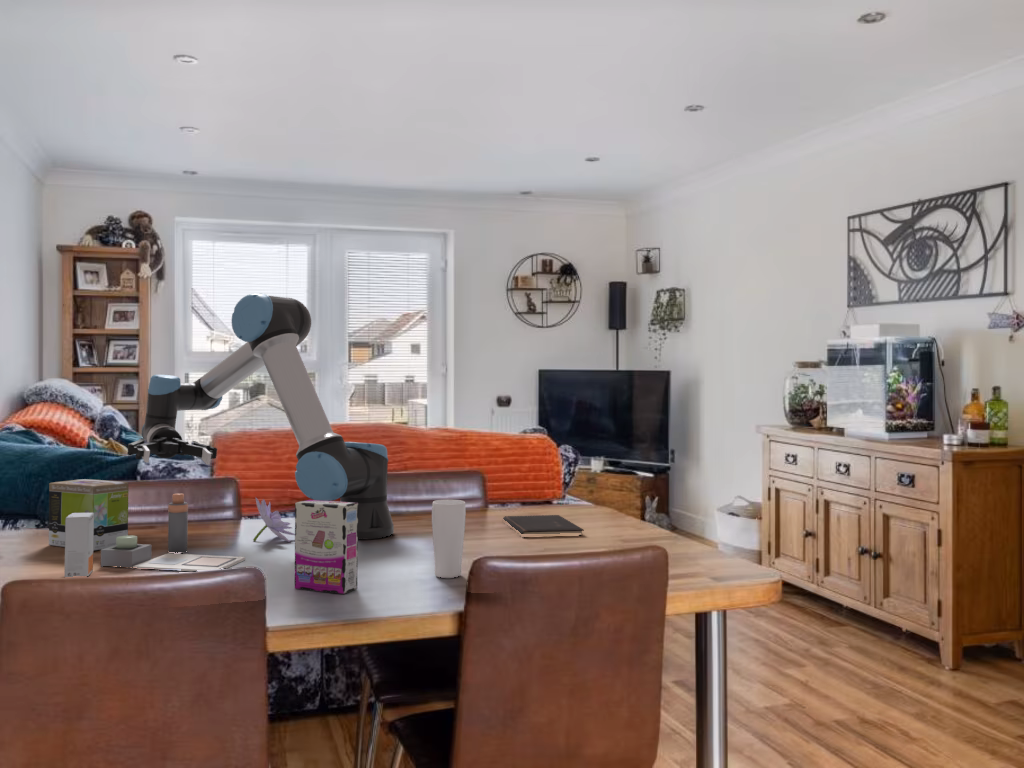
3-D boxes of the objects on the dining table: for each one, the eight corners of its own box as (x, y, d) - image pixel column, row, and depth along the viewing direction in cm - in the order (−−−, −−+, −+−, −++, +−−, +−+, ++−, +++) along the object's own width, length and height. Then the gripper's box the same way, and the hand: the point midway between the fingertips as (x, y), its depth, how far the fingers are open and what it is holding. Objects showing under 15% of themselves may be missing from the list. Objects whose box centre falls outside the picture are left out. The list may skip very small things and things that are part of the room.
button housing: (151, 561, 183) (151, 544, 183) (132, 568, 176) (132, 551, 176) (121, 559, 184) (121, 543, 184) (100, 566, 177) (100, 549, 177)
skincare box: (88, 578, 168) (88, 516, 167) (63, 579, 166) (64, 517, 166) (93, 571, 173) (94, 511, 173) (70, 572, 172) (71, 512, 172)
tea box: (129, 544, 201) (130, 481, 200) (92, 552, 191) (93, 485, 191) (84, 538, 207) (85, 477, 207) (46, 545, 198) (47, 481, 198)
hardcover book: (558, 523, 241) (558, 514, 241) (583, 538, 219) (583, 529, 219) (502, 524, 237) (502, 516, 237) (522, 540, 215) (522, 531, 215)
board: (245, 559, 186) (245, 556, 186) (215, 573, 173) (215, 569, 173) (167, 555, 188) (167, 552, 188) (132, 569, 176) (132, 565, 176)
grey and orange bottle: (191, 550, 194) (191, 493, 194) (181, 554, 190) (181, 495, 190) (174, 550, 195) (174, 492, 195) (164, 553, 191) (164, 495, 191)
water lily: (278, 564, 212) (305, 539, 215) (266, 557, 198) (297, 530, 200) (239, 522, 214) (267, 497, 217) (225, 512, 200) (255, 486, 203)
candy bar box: (358, 589, 162) (359, 502, 162) (344, 595, 158) (345, 505, 157) (308, 583, 166) (309, 498, 166) (292, 589, 162) (293, 501, 161)
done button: (141, 545, 182) (141, 535, 182) (129, 549, 178) (129, 539, 178) (123, 544, 182) (123, 535, 182) (112, 548, 179) (112, 538, 179)
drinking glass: (431, 572, 177) (432, 499, 177) (464, 572, 177) (465, 499, 177) (430, 580, 170) (431, 504, 170) (465, 579, 171) (466, 504, 170)
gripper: (213, 457, 225) (231, 475, 207) (109, 453, 213) (118, 471, 194) (217, 429, 225) (235, 444, 207) (112, 423, 212) (122, 439, 194)
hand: (178, 457), depth 200 cm, fingers open, 13 cm apart
